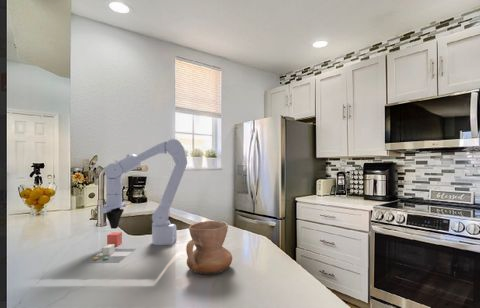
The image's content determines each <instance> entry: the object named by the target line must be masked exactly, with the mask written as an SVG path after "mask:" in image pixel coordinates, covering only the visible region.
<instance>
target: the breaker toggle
mask: <svg viewBox="0 0 480 308" xmlns="http://www.w3.org/2000/svg"><path fill="white" fill-rule="evenodd" d="M115 247H116V246H115V244H108V245H107V244H106V245H105V246H103V247H102V251H103V255H111V254H112V253H113V252H115V249H116V248H115Z"/></svg>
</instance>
